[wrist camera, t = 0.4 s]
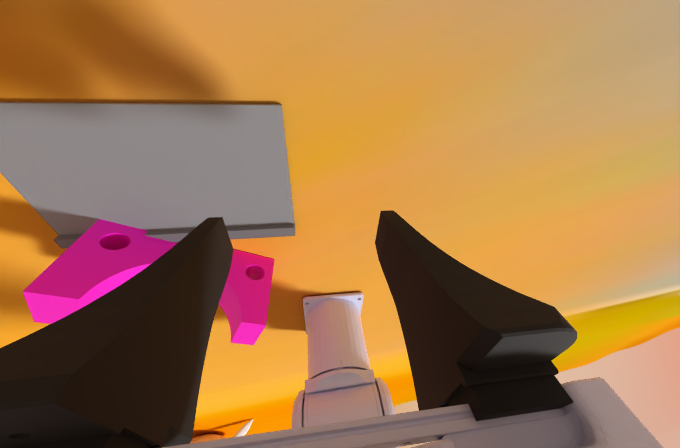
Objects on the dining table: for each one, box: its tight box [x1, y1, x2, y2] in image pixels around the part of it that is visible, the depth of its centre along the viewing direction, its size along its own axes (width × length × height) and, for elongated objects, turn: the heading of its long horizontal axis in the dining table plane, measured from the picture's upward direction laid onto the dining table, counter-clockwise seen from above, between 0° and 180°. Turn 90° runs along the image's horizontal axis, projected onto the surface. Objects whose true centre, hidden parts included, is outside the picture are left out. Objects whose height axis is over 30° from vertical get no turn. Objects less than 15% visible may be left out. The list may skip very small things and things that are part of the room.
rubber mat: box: [0, 102, 295, 248], centre depth 19 cm, size 11×20×1 cm, turn 88°
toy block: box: [23, 219, 274, 345], centre depth 22 cm, size 15×6×8 cm, turn 62°
